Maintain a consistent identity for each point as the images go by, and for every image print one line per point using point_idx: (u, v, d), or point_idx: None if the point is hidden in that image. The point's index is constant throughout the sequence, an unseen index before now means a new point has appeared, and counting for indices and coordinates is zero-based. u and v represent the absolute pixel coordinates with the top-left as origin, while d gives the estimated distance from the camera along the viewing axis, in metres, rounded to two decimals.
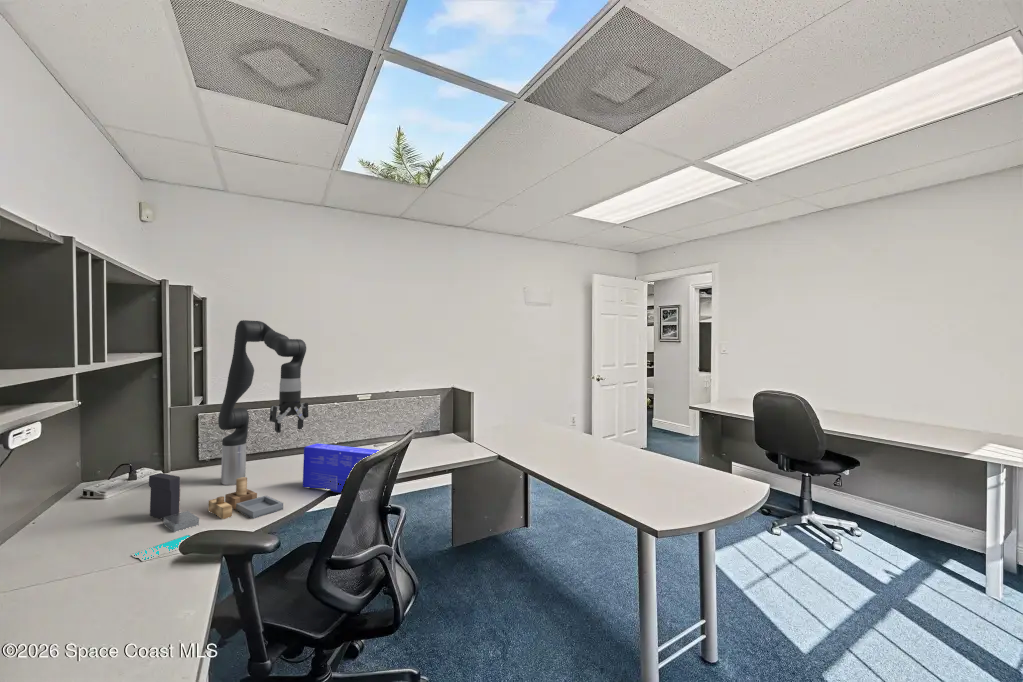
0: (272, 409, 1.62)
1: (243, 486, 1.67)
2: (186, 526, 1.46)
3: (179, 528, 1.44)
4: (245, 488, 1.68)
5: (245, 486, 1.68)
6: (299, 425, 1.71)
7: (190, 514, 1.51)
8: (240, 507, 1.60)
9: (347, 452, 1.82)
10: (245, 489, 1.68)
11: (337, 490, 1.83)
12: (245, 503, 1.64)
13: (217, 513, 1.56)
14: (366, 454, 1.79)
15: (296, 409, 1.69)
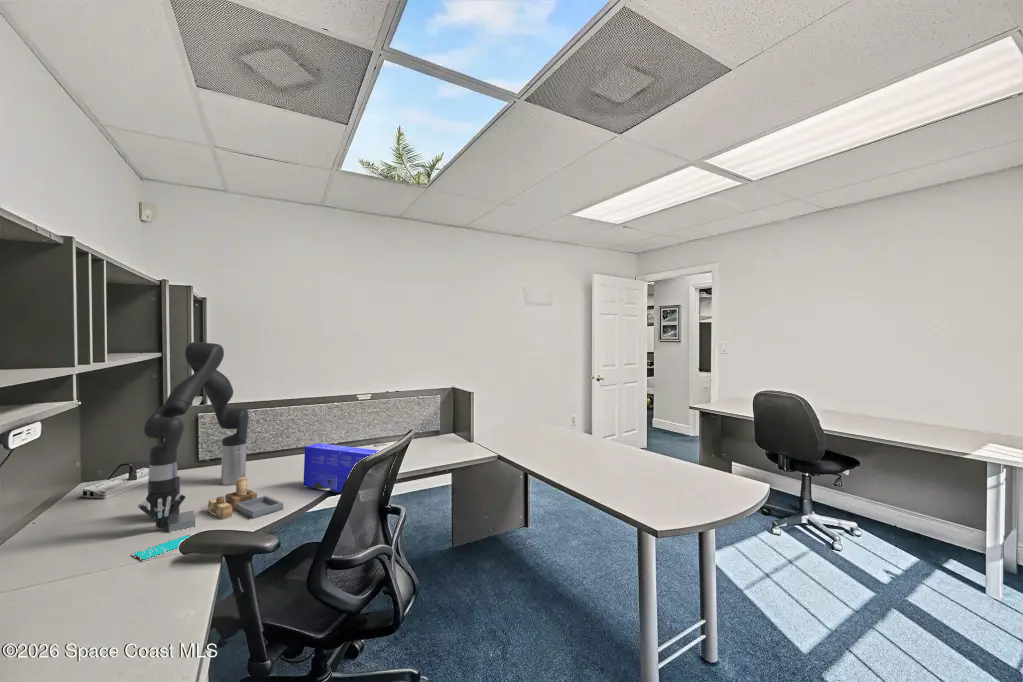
0: (141, 509, 1.39)
1: (243, 486, 1.67)
2: (182, 527, 1.45)
3: (174, 529, 1.43)
4: (245, 488, 1.68)
5: (245, 486, 1.68)
6: None
7: (191, 514, 1.51)
8: (240, 507, 1.60)
9: (346, 452, 1.82)
10: (245, 489, 1.68)
11: (337, 490, 1.83)
12: (245, 503, 1.64)
13: (217, 513, 1.56)
14: (365, 454, 1.78)
15: (168, 500, 1.44)
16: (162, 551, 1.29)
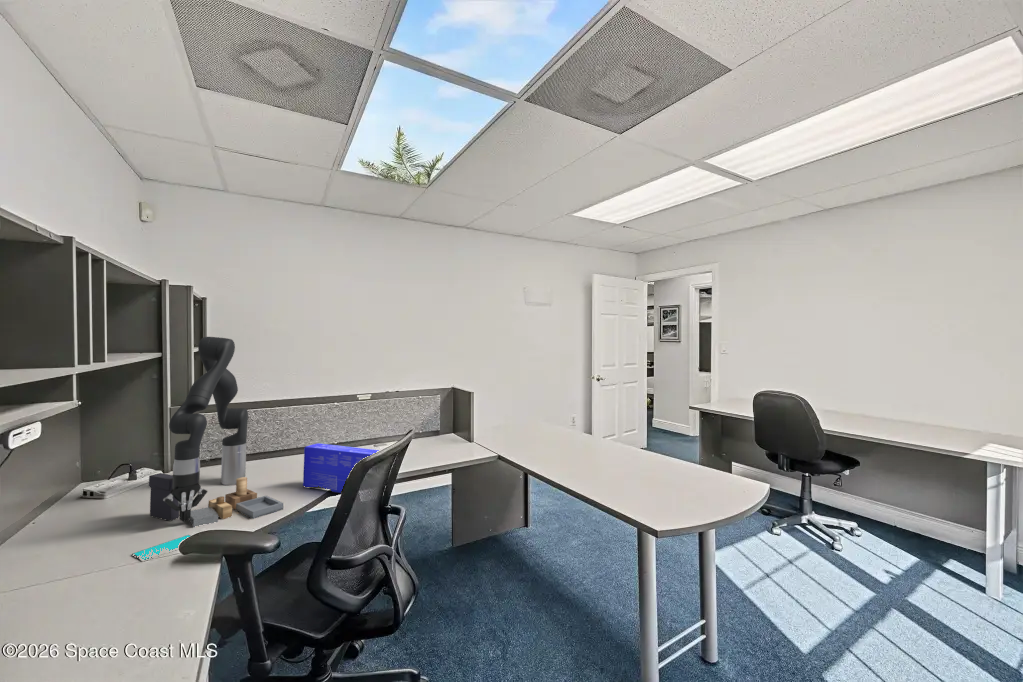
0: (166, 502, 1.45)
1: (242, 486, 1.67)
2: (205, 522, 1.49)
3: (198, 523, 1.48)
4: (245, 488, 1.68)
5: (245, 486, 1.68)
6: None
7: (212, 510, 1.55)
8: (240, 507, 1.60)
9: (347, 452, 1.82)
10: (245, 489, 1.68)
11: (337, 490, 1.83)
12: (245, 503, 1.64)
13: (217, 513, 1.56)
14: (365, 454, 1.79)
15: (191, 493, 1.49)
16: None
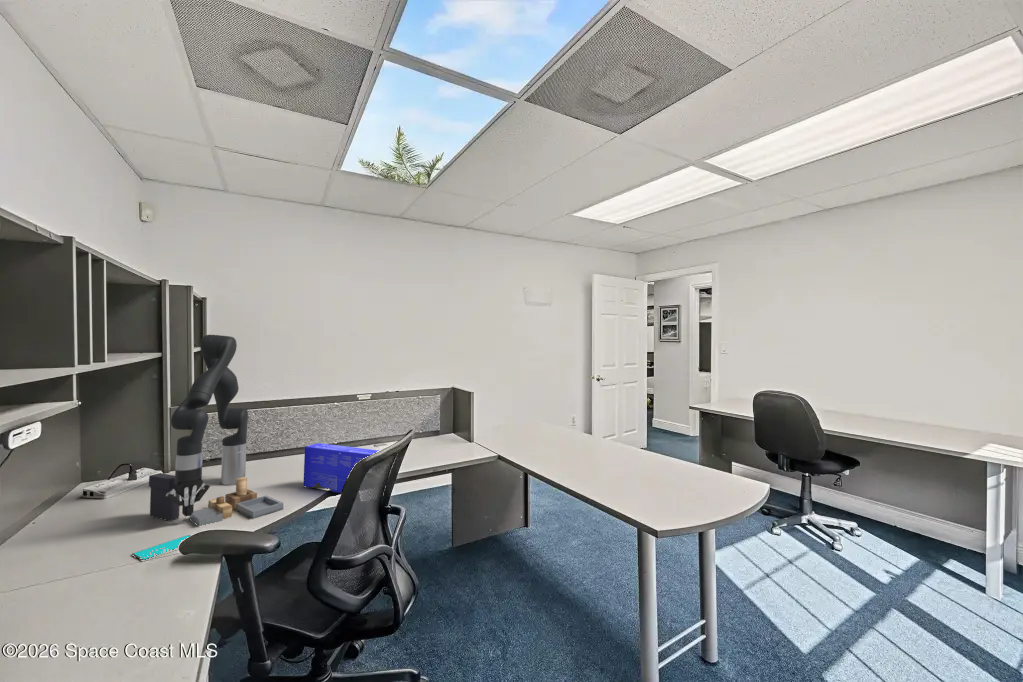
0: (168, 497, 1.45)
1: (242, 486, 1.67)
2: (210, 521, 1.50)
3: (204, 523, 1.48)
4: (245, 488, 1.68)
5: (245, 486, 1.68)
6: None
7: (214, 510, 1.55)
8: (240, 507, 1.60)
9: (346, 452, 1.82)
10: (245, 489, 1.68)
11: (337, 490, 1.83)
12: (245, 503, 1.64)
13: None
14: (365, 454, 1.78)
15: (194, 488, 1.50)
16: (162, 551, 1.29)
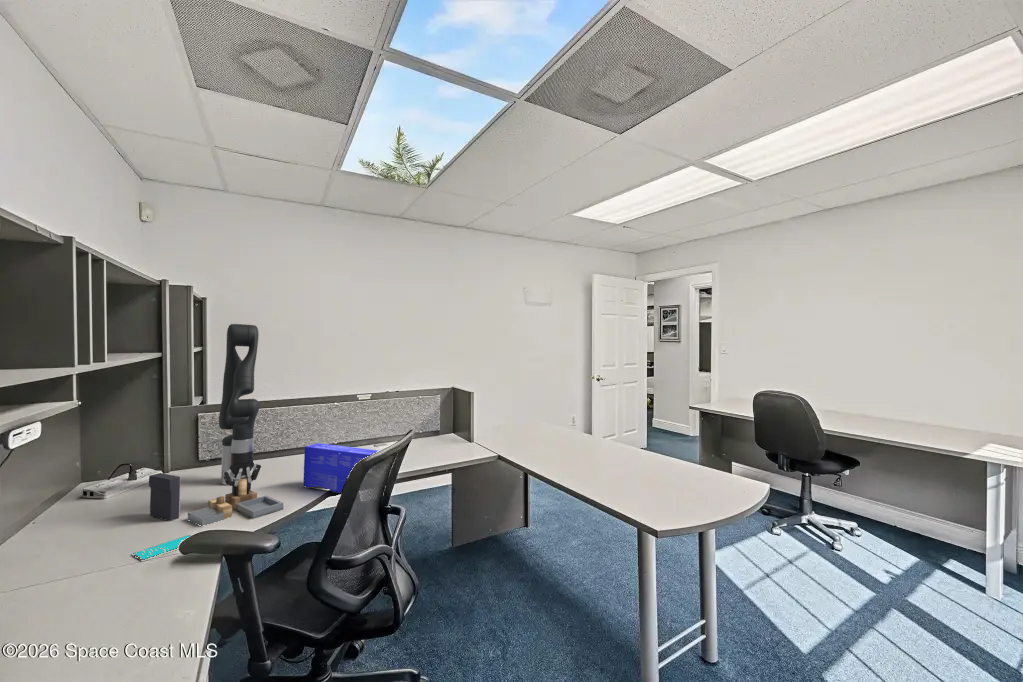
0: (224, 475, 1.63)
1: (243, 486, 1.67)
2: (212, 520, 1.50)
3: (206, 522, 1.49)
4: (245, 488, 1.68)
5: (245, 486, 1.68)
6: None
7: (213, 509, 1.56)
8: (240, 507, 1.60)
9: (346, 452, 1.81)
10: (245, 489, 1.68)
11: (336, 490, 1.82)
12: (245, 503, 1.64)
13: None
14: (364, 454, 1.78)
15: (248, 470, 1.68)
16: (162, 551, 1.29)
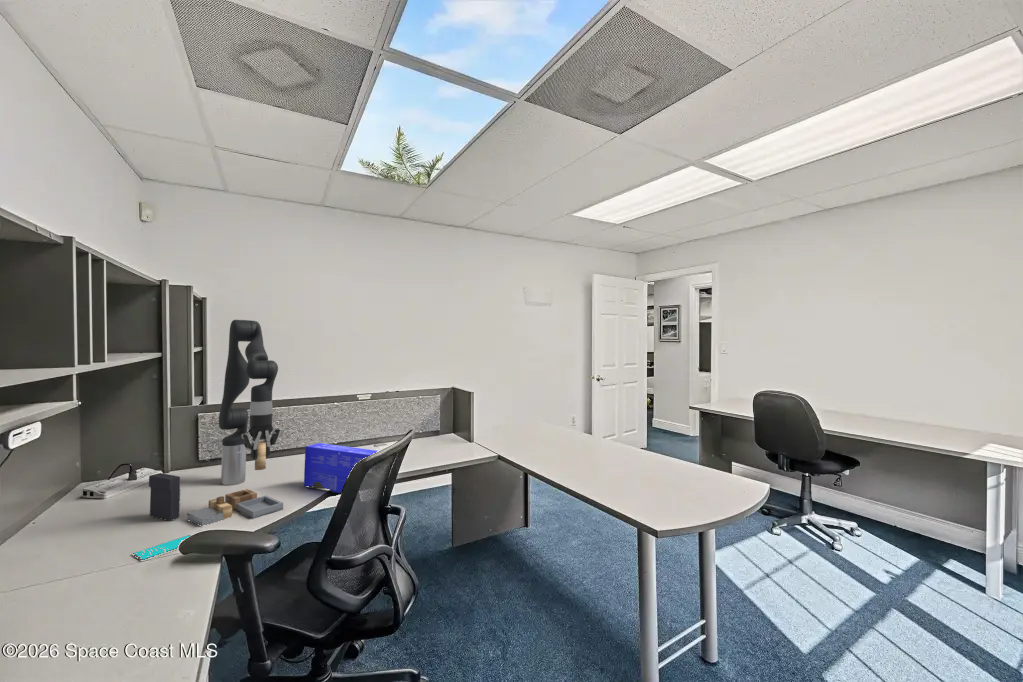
0: (243, 438, 1.57)
1: (262, 449, 1.62)
2: (212, 521, 1.50)
3: (206, 523, 1.49)
4: (264, 452, 1.63)
5: (264, 449, 1.62)
6: None
7: (213, 509, 1.56)
8: (240, 507, 1.60)
9: (346, 452, 1.81)
10: (264, 453, 1.63)
11: (336, 490, 1.82)
12: (245, 503, 1.64)
13: None
14: (364, 455, 1.78)
15: (267, 433, 1.63)
16: (162, 551, 1.29)
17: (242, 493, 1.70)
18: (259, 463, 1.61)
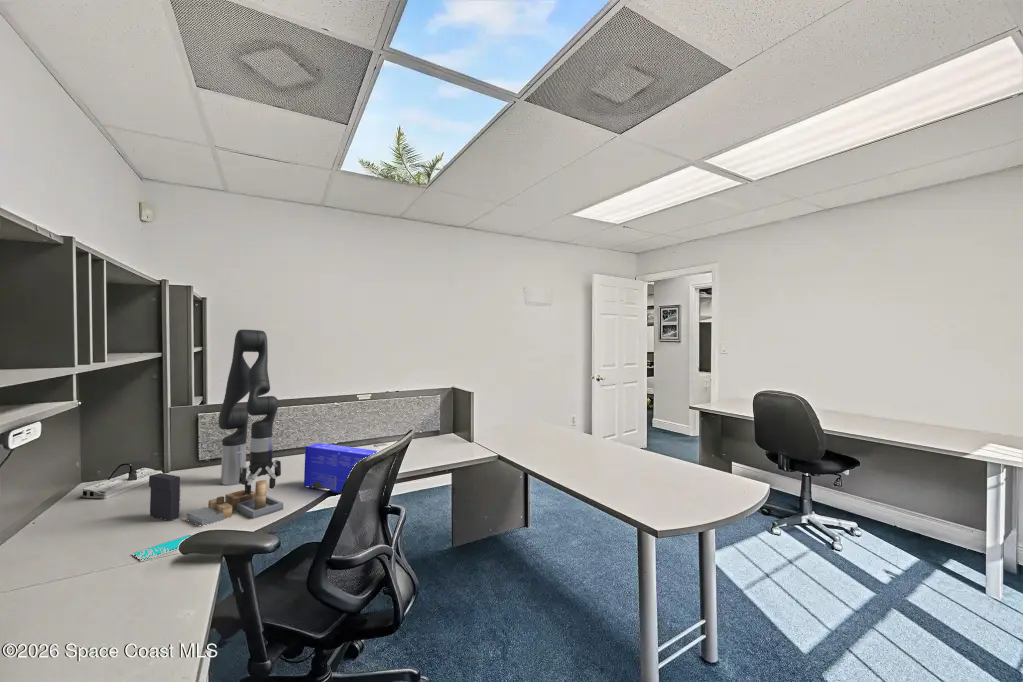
0: (241, 471, 1.57)
1: (262, 489, 1.62)
2: (212, 521, 1.50)
3: (206, 523, 1.49)
4: (264, 492, 1.63)
5: (264, 489, 1.63)
6: (271, 484, 1.66)
7: (212, 509, 1.55)
8: (240, 507, 1.60)
9: (345, 452, 1.81)
10: (264, 493, 1.63)
11: (336, 490, 1.82)
12: (245, 503, 1.64)
13: None
14: (363, 455, 1.78)
15: (267, 469, 1.63)
16: None
17: (242, 493, 1.70)
18: (259, 502, 1.61)
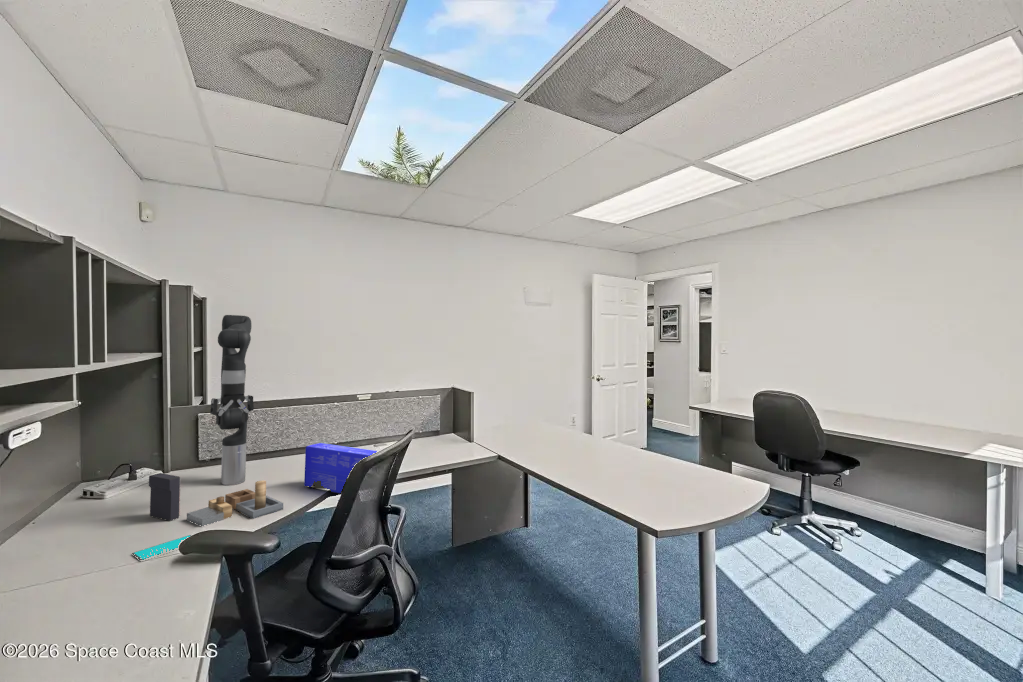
0: (213, 401, 1.59)
1: (262, 489, 1.62)
2: (212, 520, 1.50)
3: (206, 523, 1.49)
4: (264, 492, 1.63)
5: (264, 489, 1.62)
6: (243, 418, 1.68)
7: (212, 509, 1.55)
8: (240, 507, 1.60)
9: (345, 452, 1.81)
10: (264, 493, 1.63)
11: (336, 490, 1.82)
12: (245, 503, 1.64)
13: None
14: (363, 455, 1.77)
15: (239, 402, 1.65)
16: None
17: (242, 493, 1.70)
18: (259, 502, 1.61)
